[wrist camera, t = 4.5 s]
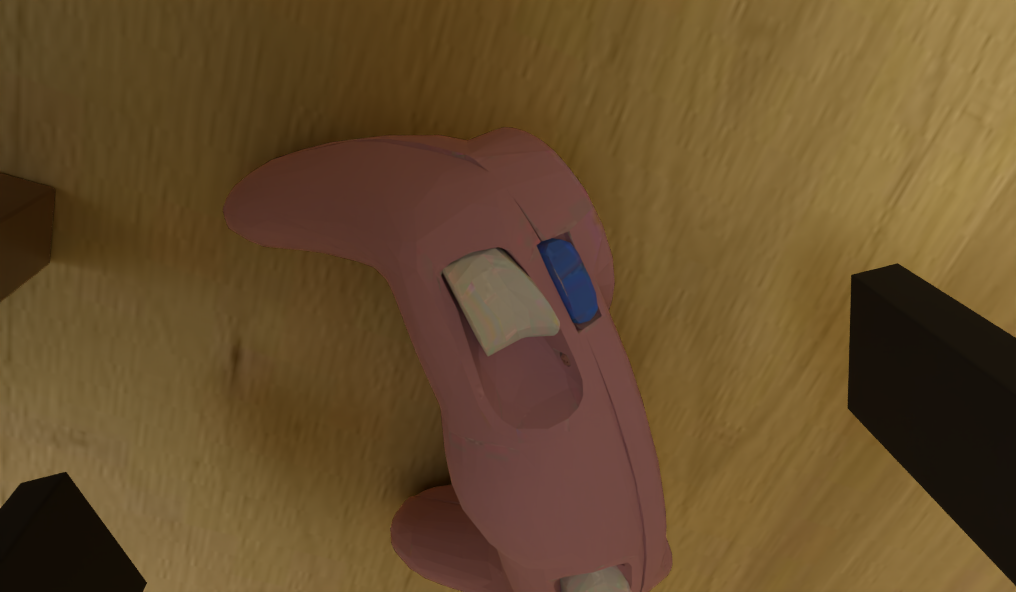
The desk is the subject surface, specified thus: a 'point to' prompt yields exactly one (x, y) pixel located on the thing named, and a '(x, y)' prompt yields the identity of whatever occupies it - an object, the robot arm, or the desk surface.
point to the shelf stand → (23, 231)
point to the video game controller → (492, 351)
